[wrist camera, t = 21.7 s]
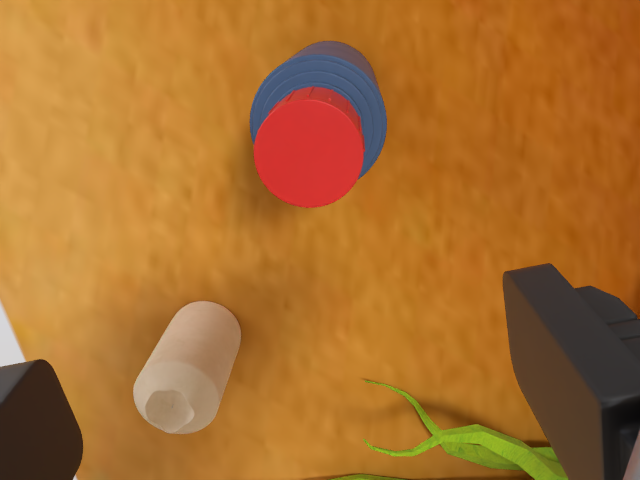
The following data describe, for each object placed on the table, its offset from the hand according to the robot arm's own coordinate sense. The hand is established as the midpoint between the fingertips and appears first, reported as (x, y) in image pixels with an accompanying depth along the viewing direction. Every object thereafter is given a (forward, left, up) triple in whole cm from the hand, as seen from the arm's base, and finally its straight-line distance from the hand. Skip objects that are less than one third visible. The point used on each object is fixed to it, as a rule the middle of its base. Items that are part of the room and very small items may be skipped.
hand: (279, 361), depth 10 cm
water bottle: (0, +1, -31) cm, 31 cm away
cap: (0, +1, -16) cm, 16 cm away
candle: (-13, -15, -31) cm, 37 cm away
